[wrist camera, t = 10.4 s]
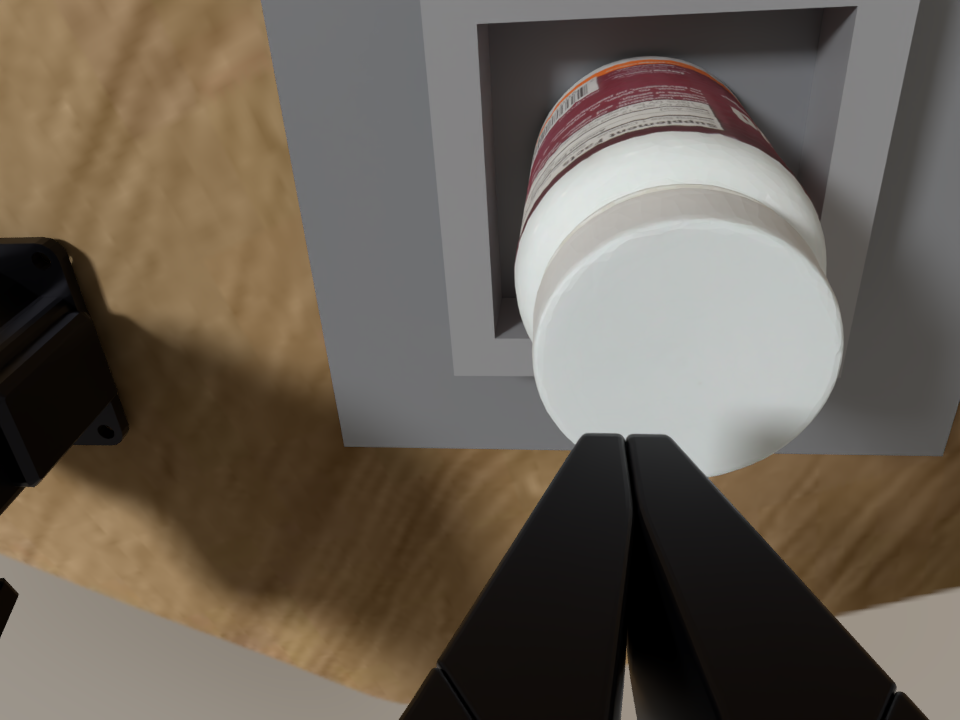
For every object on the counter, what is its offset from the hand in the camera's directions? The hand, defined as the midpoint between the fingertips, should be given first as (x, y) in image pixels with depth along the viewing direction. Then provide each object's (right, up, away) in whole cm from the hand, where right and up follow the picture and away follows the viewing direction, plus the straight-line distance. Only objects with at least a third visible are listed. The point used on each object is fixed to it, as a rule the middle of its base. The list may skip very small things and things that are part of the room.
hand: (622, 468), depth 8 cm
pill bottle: (+2, +6, +10) cm, 11 cm away
